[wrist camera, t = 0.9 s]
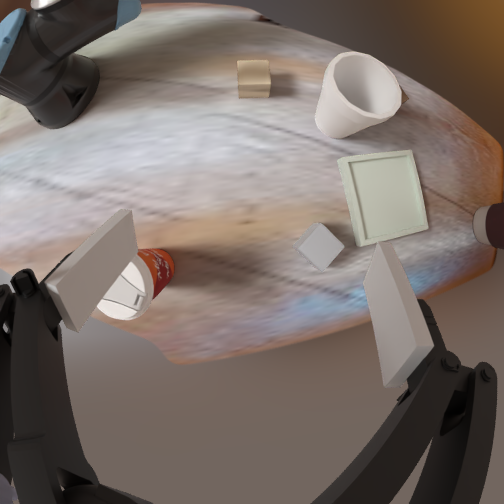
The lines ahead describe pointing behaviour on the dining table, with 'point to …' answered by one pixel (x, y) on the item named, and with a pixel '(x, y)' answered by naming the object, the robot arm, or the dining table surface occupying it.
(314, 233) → the grey painted block
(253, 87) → the beech block
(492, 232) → the coffee cup
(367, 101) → the foam cup
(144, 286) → the paper cup
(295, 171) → the dining table surface
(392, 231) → the tray
